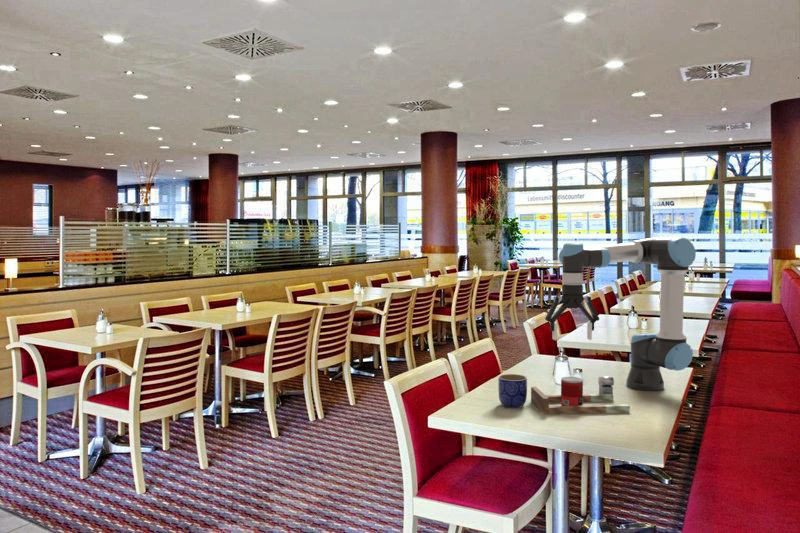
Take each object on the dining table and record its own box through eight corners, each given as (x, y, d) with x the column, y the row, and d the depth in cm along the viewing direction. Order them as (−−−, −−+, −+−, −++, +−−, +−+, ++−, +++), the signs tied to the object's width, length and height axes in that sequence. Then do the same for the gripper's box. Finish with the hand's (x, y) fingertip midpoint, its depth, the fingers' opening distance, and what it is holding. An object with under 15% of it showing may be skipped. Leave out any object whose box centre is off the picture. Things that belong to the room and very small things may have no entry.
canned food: (583, 410, 228) (583, 381, 227) (561, 409, 229) (561, 380, 229) (581, 404, 235) (581, 377, 235) (560, 403, 237) (560, 376, 236)
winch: (609, 396, 247) (610, 375, 247) (613, 399, 243) (614, 378, 243) (597, 396, 247) (598, 375, 246) (601, 399, 243) (601, 378, 242)
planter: (528, 403, 239) (528, 375, 238) (524, 410, 228) (525, 381, 228) (500, 400, 242) (500, 373, 242) (496, 408, 232) (496, 379, 231)
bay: (611, 399, 242) (611, 385, 242) (629, 412, 225) (629, 396, 225) (531, 401, 240) (531, 386, 240) (543, 414, 223) (543, 398, 223)
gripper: (600, 282, 234) (600, 337, 235) (537, 283, 233) (536, 338, 234) (608, 284, 227) (607, 340, 228) (543, 285, 225) (542, 341, 227)
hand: (571, 339), depth 231 cm, fingers open, 13 cm apart
